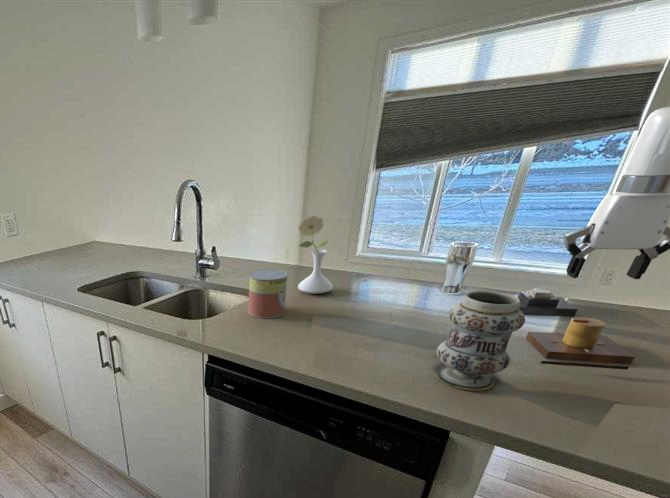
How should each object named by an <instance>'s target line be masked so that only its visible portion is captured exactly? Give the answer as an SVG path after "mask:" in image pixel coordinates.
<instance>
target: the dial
mask: <svg viewBox="0 0 670 498" xmlns="http://www.w3.org/2000/svg"><path fill="white" fill-rule="evenodd" d="M605 326H606V323H605V322H604V321H602V320H600V319H597V318H593V317H592V318H591V317H585V316H575V317H571V320H570V321H569V323H568V326H567V328H566V330H565V332H564V333H565V335H564V337H563V339H562V342H564V343H565V344H567V345H570V346H574V347H580V348H591V347H594V346H595V344H596V342H597V340H598V338H599V336H600V335H602V334H601V333H602V332H603V329H604V328H605Z"/></svg>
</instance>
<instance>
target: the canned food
mask: <svg viewBox="0 0 670 498" xmlns="http://www.w3.org/2000/svg"><path fill="white" fill-rule="evenodd" d="M288 276H289V274H288V272H287V271H285V270H281V269H275V268H274V269H271V268H270V269H269V268H267V269H266V268H265V269H259V270H255V271H252V272H250V273H249V283H248V284H249V285H248V286H249V288H248V292H249V293H248V311H247V312H248V315H250V316H252V317H253V318H258V319H275V318H279V317H282V316H283V315H285V313H286V298H287V287H288V284H287V283H288Z"/></svg>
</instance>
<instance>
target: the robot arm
mask: <svg viewBox="0 0 670 498" xmlns="http://www.w3.org/2000/svg"><path fill="white" fill-rule="evenodd" d="M669 221H670V106H665V107H660V108H657V109H655V110H654V111H653V112H651V113H650V114H649V115H648V117H647V118H646V120H645V122H644V124H643V126H642V128H641V131H640V133H639V136H638V137H637V140H636V142H635V144H634V146H633V148H632V150H631V153H630V155H629V158H628V160H627V162H626V164H625V167H624V169H623V171H622V173H621V175H620V177H619V180H618V182H617V184H616V186H615V188H614V191H613V192H608V193H607V194H606V195H605V197H603V199H602V200H601V202H600V203H599V205H598V207H597V208H596V209H595V211H594V213H593V215H592V216H591V217H590V220H589V221H588V224H587V225H586V226H584V227H582V228H579V229H576V230H574V231H571V232H567V233H566V234H565V235H563V239H564V240H563V241H564V245H565V249H566V250H567V251H568V253H569V254H570V256H571V258H570V261H569V263H568V265H567V267H566V271H565V272H566V276H569V277H570V278H572V279H577V278H579V277H580V276H579V275H580V274H581V272H582V269H583V267H584V265H585V263H586V260H587V259H586V258H585V257H586V256H588V255H589V254H591V253H592V252H593V251H595V250H637V251H638V252H639V255H636V256H635V257H634V258H633V261H632V263H631V265H630V267H629V268H628V270H627V272H626V276H627V277H630V278H631V279H634V280H641V277H642V276H643V275H644V274H645V273H646V271H647V270H648V268H649V266H650V264H651V262H652V260H655V259H657V258H658V257H659V256H660V255H661V254H664V253H665V252H667V251H669V250H670V227H669V226H668V223H669ZM662 236H664V237H665V239H664V240H663V241H662V242H660V243H658V242H659V241H660V239H661V238H662ZM579 238H580V243H581V244H580V245H579V246H578V245H577V239H579Z"/></svg>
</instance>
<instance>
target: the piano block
mask: <svg viewBox="0 0 670 498" xmlns="http://www.w3.org/2000/svg"><path fill="white" fill-rule="evenodd" d="M529 292H530V291H520V292H519V295H514V296H515V297H517V298H518V299H519V300H520V306H519V307H520V311H521V312H522V313H523V314H524V316H539V317H540V316H541V317H542V316H544V317H545V316H546V317H569V318H570V317H571V318H575V317H576V314H577V312H578V308H577V307H575V306H574V305H573V304H572V303H570V302H569V301H567V300H566V299H564V298H563V297H561V296H555V295H554V294H552V295H551V297H550V298H533V297H532V296H530V295H529Z"/></svg>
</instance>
